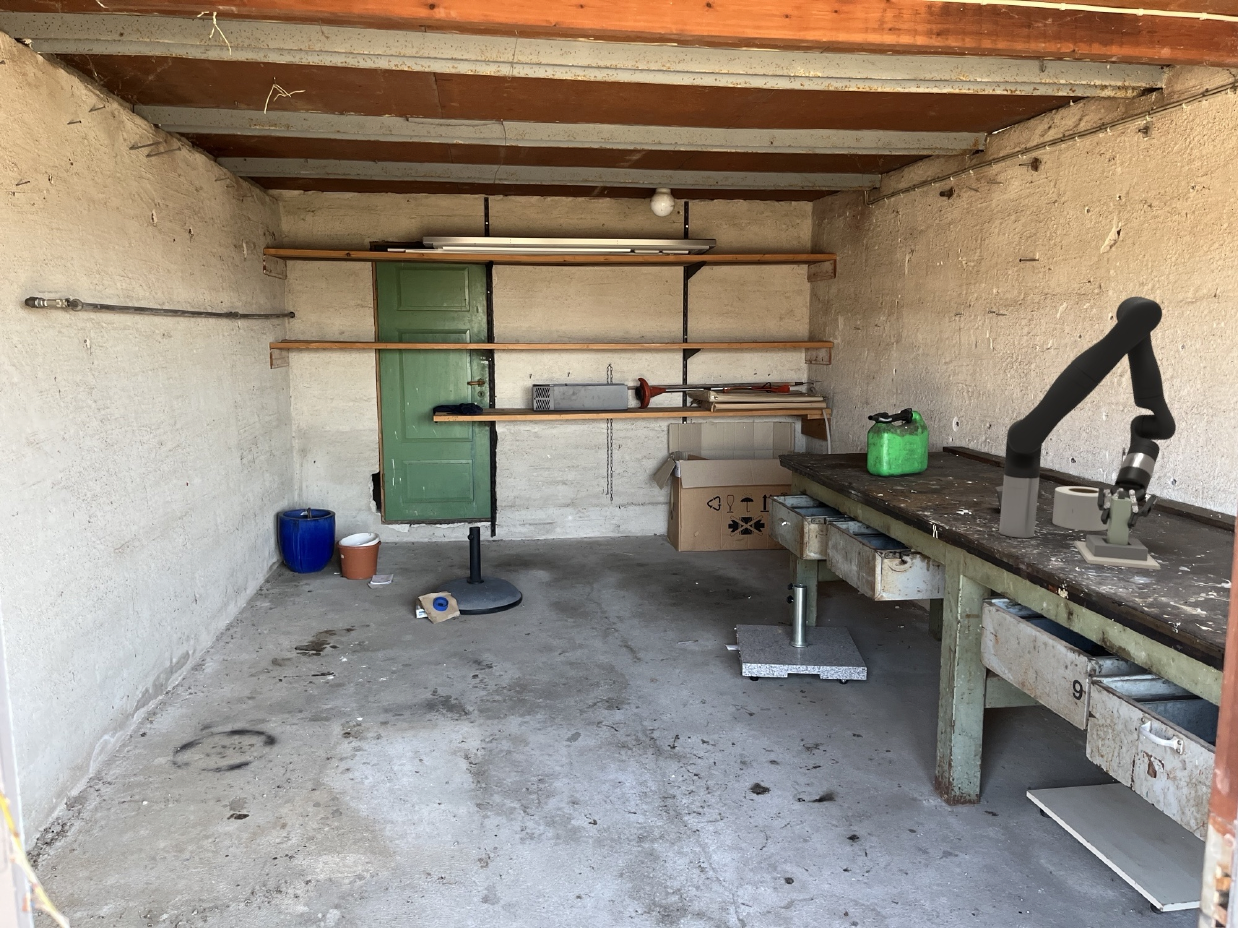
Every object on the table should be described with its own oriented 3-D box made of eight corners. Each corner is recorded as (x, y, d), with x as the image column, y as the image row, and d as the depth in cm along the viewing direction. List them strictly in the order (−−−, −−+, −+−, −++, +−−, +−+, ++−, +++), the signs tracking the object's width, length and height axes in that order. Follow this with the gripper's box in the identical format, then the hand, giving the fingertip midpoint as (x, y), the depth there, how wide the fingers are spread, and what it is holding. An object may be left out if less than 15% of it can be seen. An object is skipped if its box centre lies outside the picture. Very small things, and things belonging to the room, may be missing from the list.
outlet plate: (1074, 544, 238) (1075, 530, 237) (1140, 550, 233) (1141, 535, 232) (1087, 563, 219) (1089, 548, 219) (1159, 569, 214) (1161, 554, 214)
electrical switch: (1016, 515, 274) (1015, 487, 273) (998, 516, 276) (998, 487, 274) (1012, 510, 283) (1012, 482, 282) (995, 510, 284) (994, 482, 283)
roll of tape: (1076, 532, 253) (1080, 496, 252) (1040, 520, 268) (1044, 486, 266) (1121, 530, 256) (1125, 494, 255) (1084, 518, 271) (1087, 484, 270)
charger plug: (1106, 541, 228) (1111, 489, 226) (1123, 542, 227) (1128, 490, 225) (1109, 544, 224) (1114, 492, 222) (1127, 546, 223) (1132, 493, 221)
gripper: (1103, 462, 233) (1084, 511, 226) (1164, 468, 222) (1145, 520, 216) (1108, 479, 237) (1089, 528, 231) (1167, 486, 227) (1149, 537, 221)
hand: (1116, 524), depth 223 cm, fingers closed on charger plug, 5 cm apart
